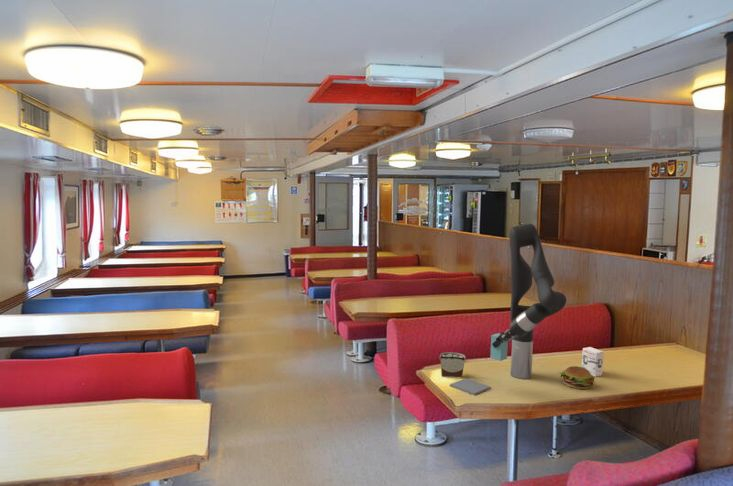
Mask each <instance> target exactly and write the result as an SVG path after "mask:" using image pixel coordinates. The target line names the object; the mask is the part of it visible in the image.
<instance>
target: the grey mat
mask: <svg viewBox="0 0 733 486" xmlns="http://www.w3.org/2000/svg"><path fill="white" fill-rule="evenodd" d="M449 387H451V388H453V389H457V390H459V391H461V392H465V393H467V394H469V395H473V396H476V395H478V394H480V393H483V392H485V391H488V390H490V389H492V386H490V385H487V384H484V383H482V382H480V381H475V380H473V379H471V378H468V377H467V378H463V379H461V380H458V381H455V382H452V383H449Z"/></svg>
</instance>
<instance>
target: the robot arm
mask: <svg viewBox="0 0 733 486" xmlns="http://www.w3.org/2000/svg"><path fill="white" fill-rule="evenodd" d="M508 238H509V249H510V288H511V289H510V291H511V293H510V294H511V297H510V310H509V311H510V312H509V314H510V315H509V318H510V322H509V327H510V328H507V329H506V330H505V331H502V332H501V333H499V334H500V335H499V336H498V337H497V338H496V341H495V342H494V343H492V345H493V347H494V348H497V347H498V346H499V345H500V344H502V343H503V342H507V341H508V342H510V341H511V354H510V355H511V356H510V370H509V371H510V373H509V374H510V376H512V377H513V378H517V379H522V380H523V379H525V380H526V379H530V378H532V377H531V376H532V373H533V372H532V371H533V370H532V369H533V347H534V346H533V345H534V328H535V327H537V325H538V324H540V323H541V322H542V321H544V320H545V319H546V318H548V317H551V316H552V315H554V314H556V313H559V312H560V311H561V310H562V309H564V308H565V306H566V304H567V297H566V295H565V294H564V293H562V292H559V291H555V290H553V289H552V287H554V285H555V279H554V276H553V275H552V272H551V269H550V268H549V265H548V262H547V261H546V257H545V253H544V248H543V244H542V241H541V239H540V236H539V232H538V229H537V228H536V226H535V225H534V224H532V223H526V224H520V225H516V226H512V227H510V229H509V234H508ZM531 246H532V249H533V255H532V256H533V257H532V260H531V264H530V265H531V266H530V265H529V263H528V262H527V261H526V260H525V259H524V258H523V256H522V254H521V248H525V247H531ZM533 281H534V283H535V285H536V291H537V298H538V301H539V302H536V303H533V304H532V305H524V304H523V305H521V304H519V303H520V301H521V300H522V298H523V297H524V296H525V295H526V294H527V293H528V292H529V291H530V289H531V287H532V286H533ZM506 338H507V339H506Z"/></svg>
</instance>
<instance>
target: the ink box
mask: <svg viewBox="0 0 733 486" xmlns="http://www.w3.org/2000/svg"><path fill="white" fill-rule="evenodd" d="M603 365H604V351H603V350H600V349H597V348H594V347H592V346H588V347H583V348H582V353H581V366H580V367H582V368H585V369H587V370H588V371H589V372H590V373H591V375H593V376H595V378H596V376H597V377H601V375H602V376H603Z"/></svg>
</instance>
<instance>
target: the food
mask: <svg viewBox="0 0 733 486" xmlns="http://www.w3.org/2000/svg"><path fill="white" fill-rule="evenodd" d="M559 374H560V378H562V379H563V381H562V382H563V384H564V385H565V386H567V387H569V388H573V389H576V390H587V389H588V390H589V389H591V388H592V386H593V385H594V382H595V379H596V377H594V376H593V375H591V373H590V372H589V371H588V370H587V369H585V368H582V367H581V366H575V365H574V366H568V367H567V368H565V369H564V370H563V371H561V372H559Z"/></svg>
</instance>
